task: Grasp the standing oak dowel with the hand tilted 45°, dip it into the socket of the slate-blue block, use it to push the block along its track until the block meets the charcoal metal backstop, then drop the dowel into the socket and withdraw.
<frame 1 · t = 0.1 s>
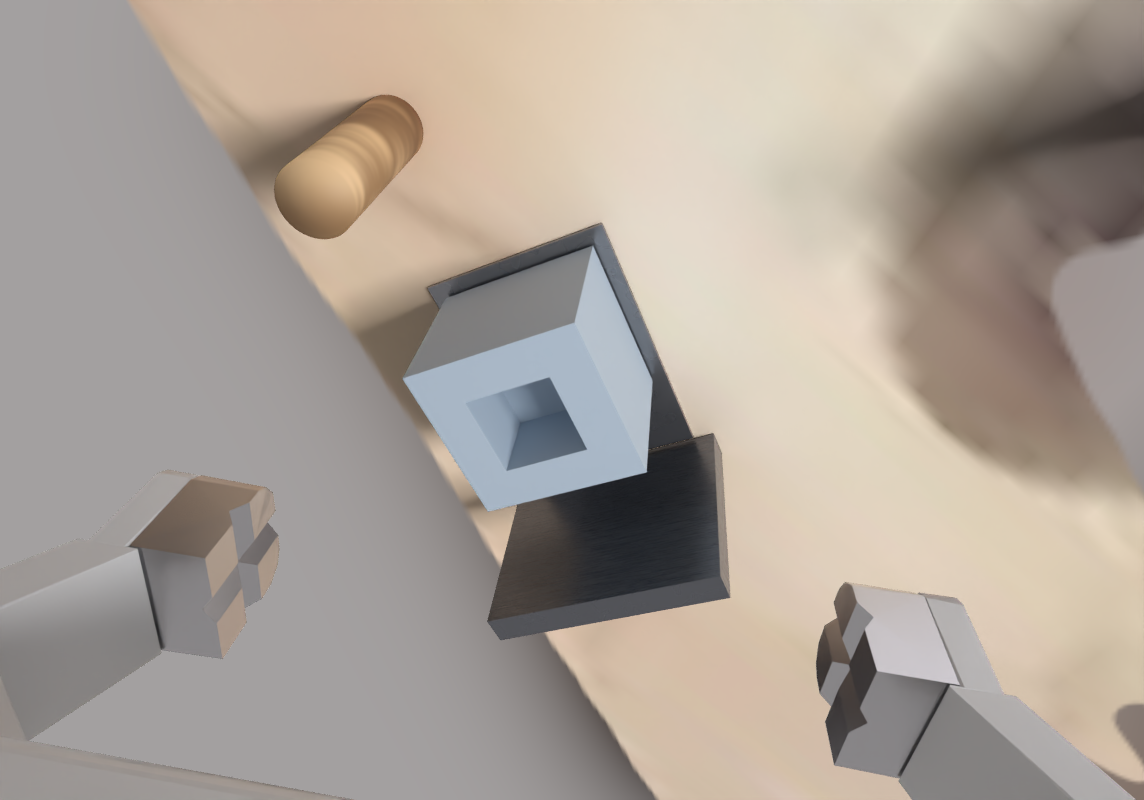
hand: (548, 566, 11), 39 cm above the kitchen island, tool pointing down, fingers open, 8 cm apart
backstop: (552, 335, 54), on the kitchen island
socket block: (539, 379, 50), point 6 cm above the kitchen island, slide at 0.0 cm
dowel: (391, 129, 47), on the kitchen island
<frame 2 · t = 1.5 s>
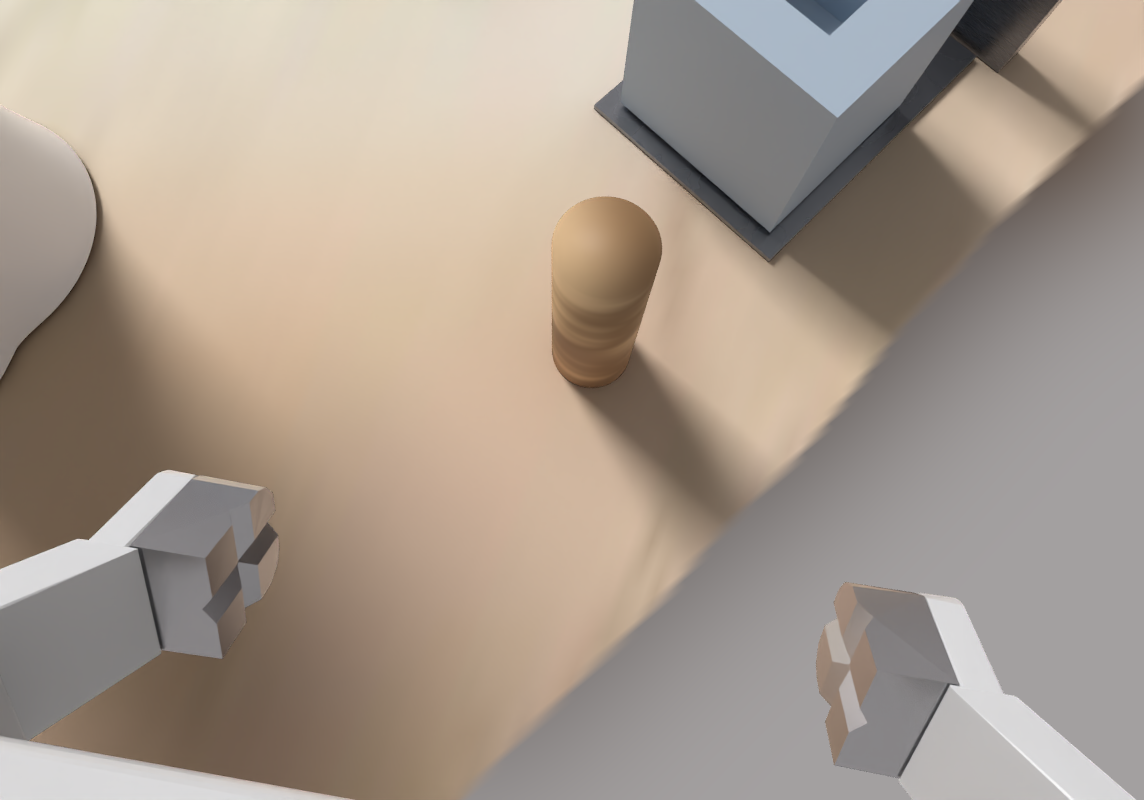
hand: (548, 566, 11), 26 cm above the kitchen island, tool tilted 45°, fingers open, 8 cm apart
backstop: (757, 110, 43), on the kitchen island
socket block: (787, 40, 38), point 6 cm above the kitchen island, slide at 0.0 cm
dowel: (591, 350, 39), on the kitchen island
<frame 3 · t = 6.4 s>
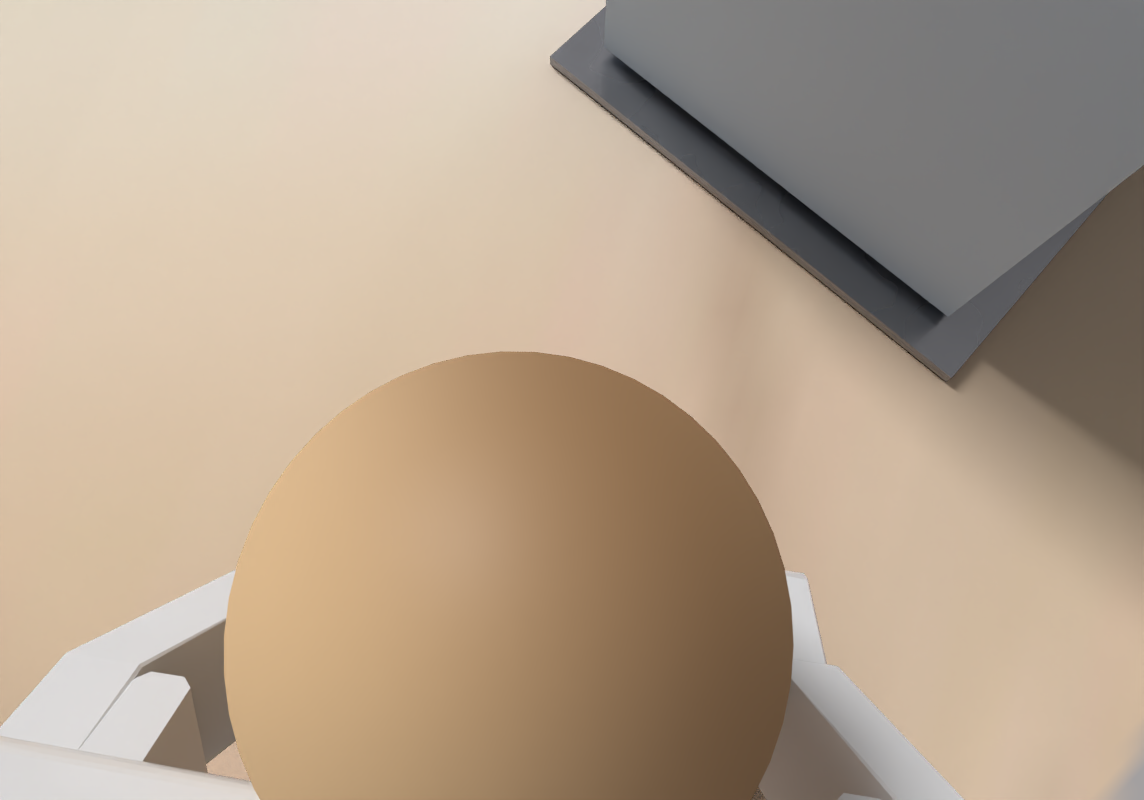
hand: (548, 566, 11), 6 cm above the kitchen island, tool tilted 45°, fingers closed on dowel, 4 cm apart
backstop: (891, 53, 21), on the kitchen island
dowel: (554, 610, 17), on the kitchen island, touching gripper
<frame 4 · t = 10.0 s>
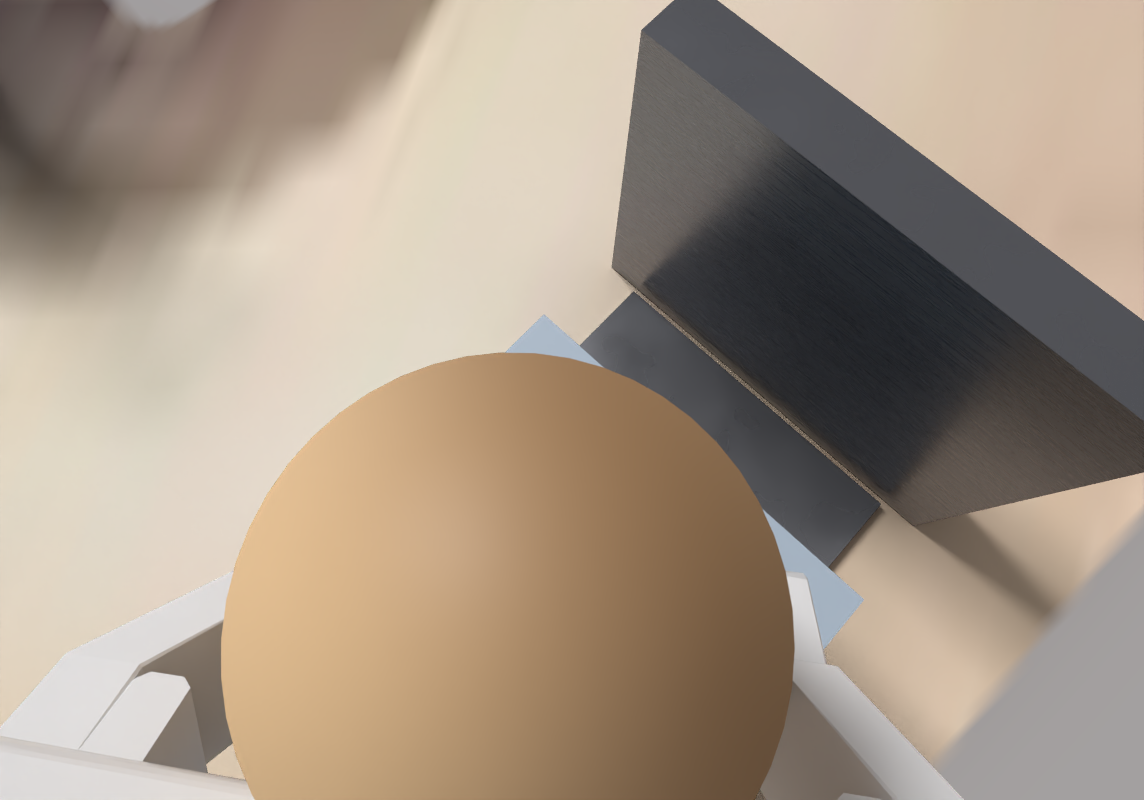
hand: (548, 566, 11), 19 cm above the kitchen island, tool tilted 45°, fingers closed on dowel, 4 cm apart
backstop: (557, 608, 29), on the kitchen island
socket block: (554, 608, 24), point 6 cm above the kitchen island, slide at 0.0 cm
dowel: (553, 610, 17), point 13 cm above the kitchen island, touching gripper
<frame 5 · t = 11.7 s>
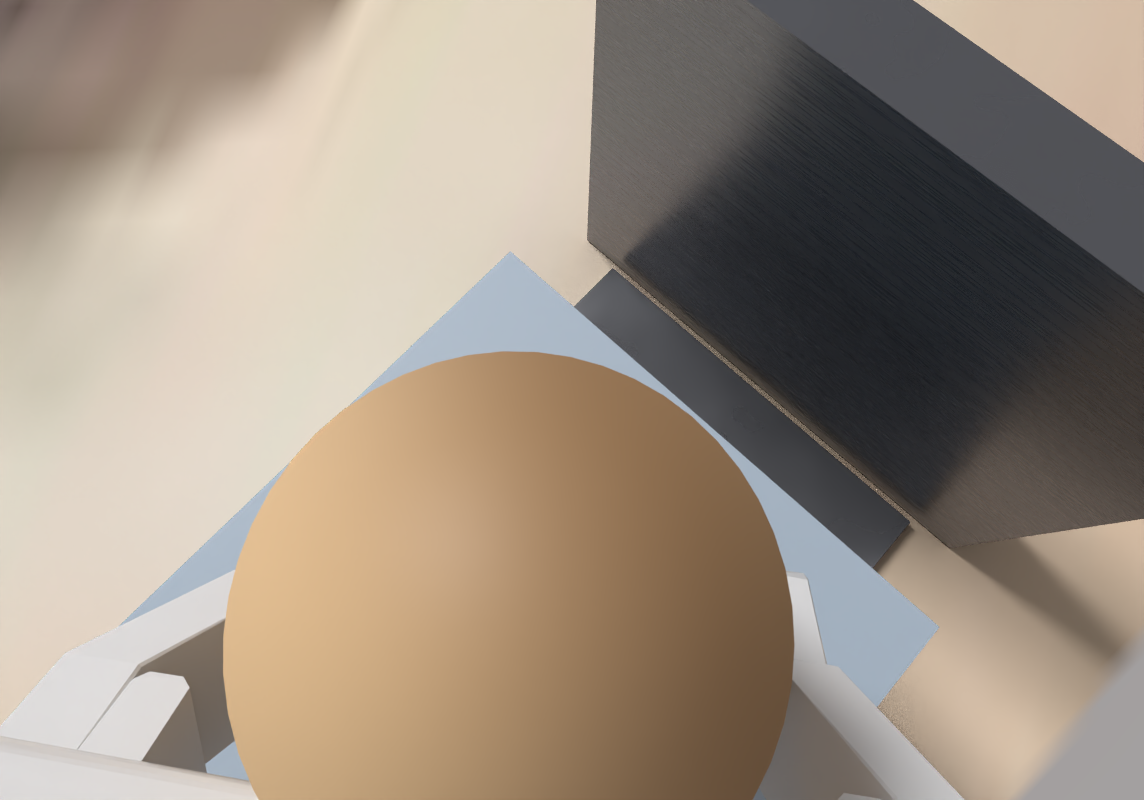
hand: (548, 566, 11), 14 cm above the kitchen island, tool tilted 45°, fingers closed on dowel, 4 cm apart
backstop: (518, 649, 24), on the kitchen island
socket block: (530, 632, 19), point 6 cm above the kitchen island, slide at 1.0 cm, touching dowel
dowel: (550, 612, 17), point 8 cm above the kitchen island, touching gripper, socket block
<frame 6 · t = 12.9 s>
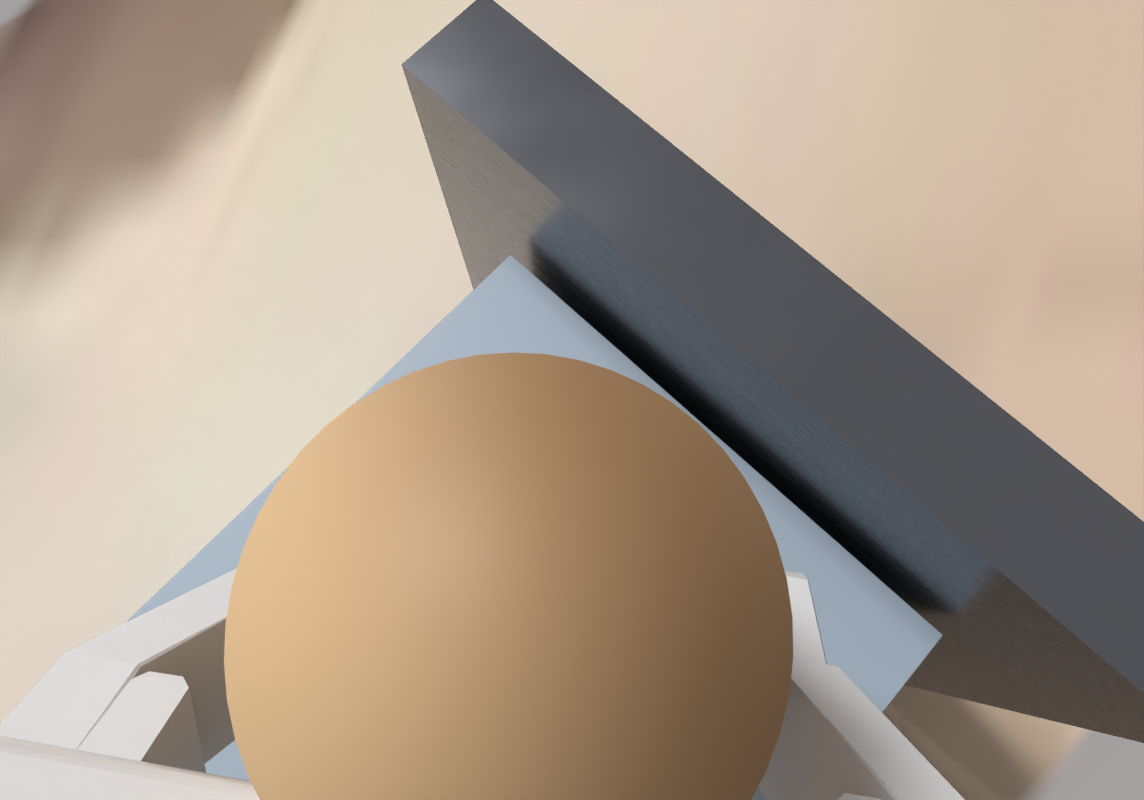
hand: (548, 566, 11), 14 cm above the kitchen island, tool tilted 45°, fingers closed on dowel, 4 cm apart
backstop: (400, 782, 23), on the kitchen island
socket block: (530, 637, 19), point 6 cm above the kitchen island, slide at 6.0 cm, touching dowel
dowel: (549, 619, 17), point 8 cm above the kitchen island, touching gripper, socket block
when the fingers open (13 cm above the kitchen island, at t = 13.8 s): dowel drops 1 cm, resting on socket block.
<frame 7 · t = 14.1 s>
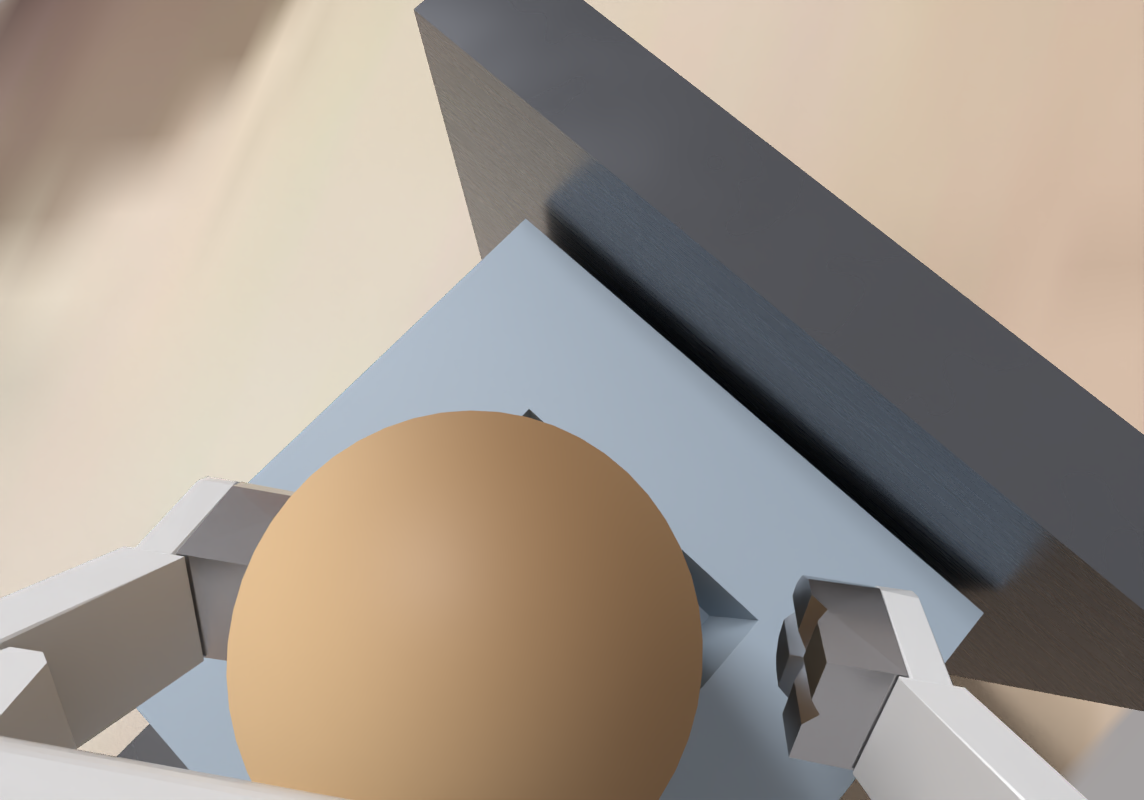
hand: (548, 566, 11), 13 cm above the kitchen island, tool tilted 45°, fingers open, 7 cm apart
backstop: (409, 774, 22), on the kitchen island
socket block: (544, 621, 18), point 6 cm above the kitchen island, slide at 6.0 cm, touching dowel
dowel: (545, 618, 18), point 6 cm above the kitchen island, touching socket block
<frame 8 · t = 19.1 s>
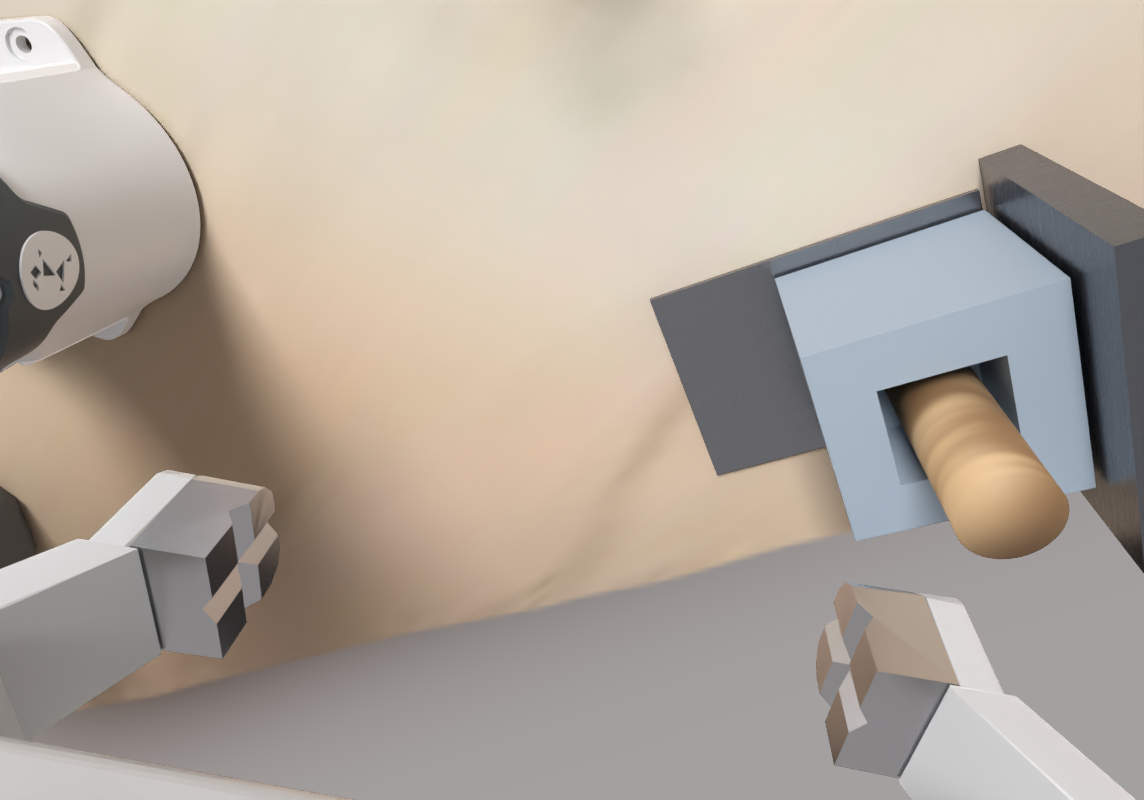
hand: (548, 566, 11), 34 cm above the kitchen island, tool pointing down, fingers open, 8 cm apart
backstop: (789, 359, 46), on the kitchen island
socket block: (920, 373, 39), point 6 cm above the kitchen island, slide at 6.0 cm, touching dowel
dowel: (922, 372, 39), point 6 cm above the kitchen island, touching socket block
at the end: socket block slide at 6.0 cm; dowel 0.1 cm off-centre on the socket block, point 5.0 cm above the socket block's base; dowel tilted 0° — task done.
